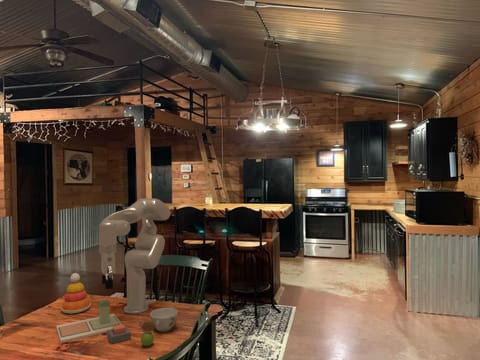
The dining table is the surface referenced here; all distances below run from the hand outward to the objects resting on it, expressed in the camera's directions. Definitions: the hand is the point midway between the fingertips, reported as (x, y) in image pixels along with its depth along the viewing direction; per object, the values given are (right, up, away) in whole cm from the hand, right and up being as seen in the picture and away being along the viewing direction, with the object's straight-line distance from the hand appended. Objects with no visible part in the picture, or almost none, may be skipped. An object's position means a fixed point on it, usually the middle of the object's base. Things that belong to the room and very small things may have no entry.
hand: (107, 286), depth 162 cm
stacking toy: (-26, -20, +25) cm, 41 cm away
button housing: (+8, -20, -8) cm, 23 cm away
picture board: (-9, -20, +2) cm, 22 cm away
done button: (+8, -18, -8) cm, 22 cm away
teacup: (+26, -20, 0) cm, 33 cm away
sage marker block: (-4, -19, +6) cm, 20 cm away
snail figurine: (+22, -21, -15) cm, 33 cm away
